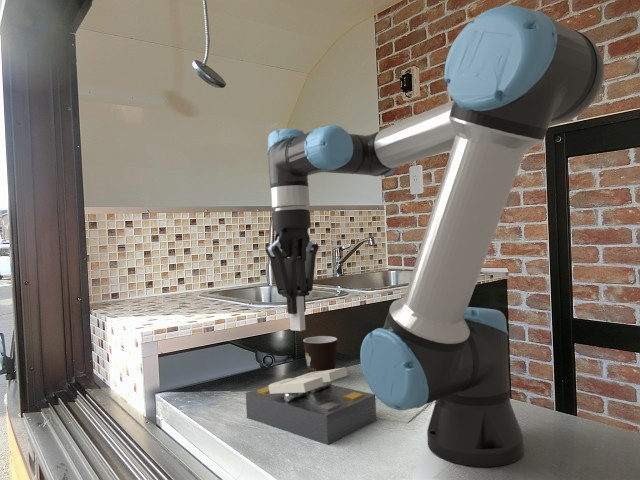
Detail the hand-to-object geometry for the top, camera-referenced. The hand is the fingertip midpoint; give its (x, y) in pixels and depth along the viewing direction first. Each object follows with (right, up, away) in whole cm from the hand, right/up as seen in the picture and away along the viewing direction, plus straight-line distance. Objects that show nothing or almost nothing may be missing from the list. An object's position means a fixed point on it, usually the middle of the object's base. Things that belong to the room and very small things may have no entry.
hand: (297, 329), depth 97 cm
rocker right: (+4, -10, +3) cm, 11 cm away
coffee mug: (+5, -18, +30) cm, 35 cm away
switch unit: (+2, -18, +1) cm, 18 cm away
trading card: (+21, -18, +8) cm, 29 cm away
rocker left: (0, -10, -2) cm, 11 cm away
